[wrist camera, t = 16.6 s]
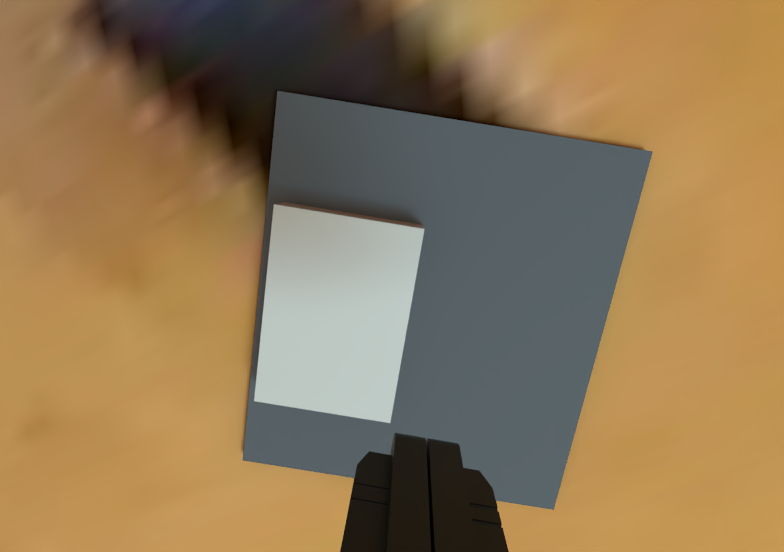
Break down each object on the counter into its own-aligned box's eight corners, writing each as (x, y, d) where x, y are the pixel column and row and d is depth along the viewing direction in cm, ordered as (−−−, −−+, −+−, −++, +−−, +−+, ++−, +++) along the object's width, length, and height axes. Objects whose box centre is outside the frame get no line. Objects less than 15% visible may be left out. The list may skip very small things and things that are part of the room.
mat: (280, 93, 21) (277, 90, 21) (645, 152, 22) (652, 151, 21) (246, 453, 26) (242, 460, 25) (550, 502, 26) (553, 509, 25)
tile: (423, 225, 22) (284, 202, 22) (424, 229, 20) (273, 204, 20) (391, 405, 24) (264, 384, 24) (390, 423, 22) (254, 401, 22)
